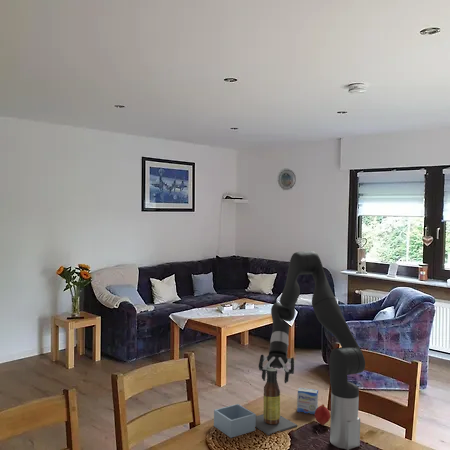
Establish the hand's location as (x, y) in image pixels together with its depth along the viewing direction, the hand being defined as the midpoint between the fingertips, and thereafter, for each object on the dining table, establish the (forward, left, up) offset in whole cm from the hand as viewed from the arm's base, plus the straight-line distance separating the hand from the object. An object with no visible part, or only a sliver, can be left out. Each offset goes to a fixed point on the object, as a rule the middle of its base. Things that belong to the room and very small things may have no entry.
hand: (274, 381), depth 186 cm
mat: (-7, +7, -13) cm, 16 cm away
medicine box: (-6, -13, -13) cm, 19 cm away
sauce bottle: (-7, +7, -12) cm, 16 cm away
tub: (-3, +21, -13) cm, 25 cm away
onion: (-18, -9, -13) cm, 24 cm away
